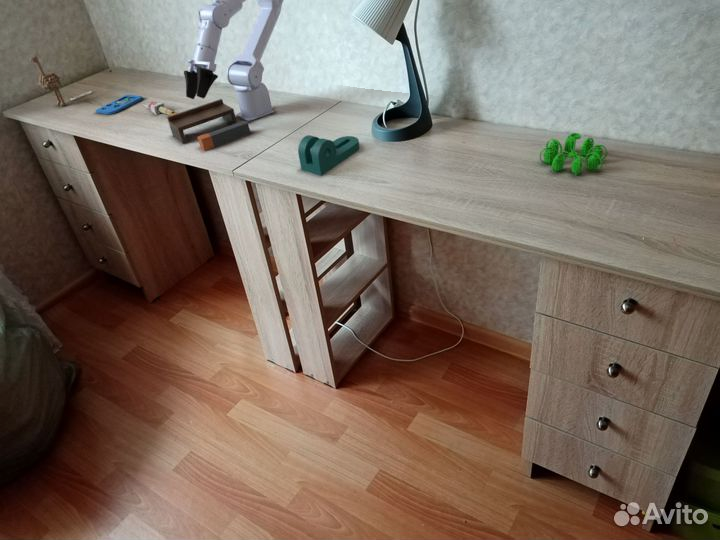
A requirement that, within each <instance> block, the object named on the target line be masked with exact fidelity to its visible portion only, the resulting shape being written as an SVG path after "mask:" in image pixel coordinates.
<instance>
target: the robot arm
mask: <svg viewBox="0 0 720 540" xmlns="http://www.w3.org/2000/svg"><path fill="white" fill-rule="evenodd" d="M256 1H257V5H259V7H261V10H260V12H259V13H258V14H259V15H258V17H257V18H256V22H255V24H254V26H253V28H252V31H251V33H250V35H249V37H248V39H247V42H246V45H245V47H244V49H243V52H242V53H241V54H239V55H238V56H236V57H235V58H234V59H233V61H232V63H231V64H229V65H228V67H227V68H226V74H225V75H226V80H227V82H228V83H229V85H231V86H232V88H233V89H234V90H235V94H236V98H237V102H238V106H239V110H240V112H238V113H236V116H237V117H239V118H240V119H242V120H243V121H246V122H251V121H254V120H257V119H259V118H262V117H265V116H267V115H271V114H273V113H275V111H274V110H273V107H272V106H273V105H272V102H271V97H270V92H269V90H268V87H267V86H266V84H265V83H263V82H262V80H263V73H264V70H265V67H264V65H263V64H262V62H261V60H262V58H263V55H264V52H265V50H266V48H267V45H268V43H269V41H270V39H271V36H272V34H273V32H274V29H275V26H276V25H277V22H278V19H279V17H280V15H281V11H282V6H283V2H284V0H256ZM245 2H247V0H212V2H211V4H204V5H203V6H202V8H200V10H198V12H197V13H198V14H197V15H198V16H197V18H198V21H199V24H198V35H197V39H196V44H195V48H194V52H193V57H192V59H191V58H190V59H187V63H189V66H188V70H183V76H184V80H185V97H186V98H189V99H191V100H195V98H196V97H198V98H201V99H203V100H204V99H205V98H206V96H207V95H208V92H209V91H210V89H211V87H212V85H213V84H214V82H215V81H216V80H217V79H218V77H219V75H218V74H216V73H215V72H216V70H217V67H218V65H217V63H215V62H216V57H217V54H218V48H219V45H220V41H221V36H222V32H223V29H225V28H227V27H228V26H229V25H230V20H231V19H232V18H233V17H234V16H235V15H236V14H238V13H239V12H240V11H241V10H242V9H243V3H245Z"/></svg>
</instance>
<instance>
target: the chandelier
mask: <svg viewBox="0 0 720 540" xmlns="http://www.w3.org/2000/svg"><path fill="white" fill-rule="evenodd" d="M581 138H582V134H580V133H577V132H575V133H574V132H573V133H570V134H569V135H568V136H567V138H566V139H565V142H564V147H563V146H562V144H561V142H560V141H559V140H558V139H555V138H551V139H549V140H547V142H546V144H545V147H544V148H542V150H541V151H540V152H539V160H540V161H541V162H542V163H543V164H545V165H551V170H552V172H554V173H558V172H559V171H561V170H563V169H564V165H565V162H566V160H568V159H569V158H571V159H573V161H572V162H571V170H570V171H571V172H572V173H574V175H575V176H578V175H579V174H580V173H581V172H582V169H583V160H584V164H585V166H586V168H587V169H588V170H589V171H593V172H595V171H599V170H600V169H601V168H602V167H603V161H604V160H605V159H606V158H607V156H608V152H609V151H608V149H607V148H606V146H605V145H602V144H596V145H595V144H594V143H595V141H594V139H593V137H587V138H586V139H584V141H583V143H582V145H581V146H580V149H579V150H578V151H576V143H577V140H580V139H581ZM603 148H604V149H605V155H604V157H603V153H604V152H603V150H604V149H603ZM563 149H564V150H563ZM543 152H544V154H543V159H542V157H541V156H542V153H543ZM562 152H563V153H562ZM564 153H565V154H564ZM566 156H567V157H566ZM583 156H585V157H583ZM587 158H588V159H587ZM599 163H600V165H599Z"/></svg>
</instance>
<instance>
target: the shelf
mask: <svg viewBox="0 0 720 540" xmlns="http://www.w3.org/2000/svg"><path fill="white" fill-rule="evenodd" d="M220 118H222V120H224V121H225V122H227V123H228V124H231V125H233V124H236V123H238V121H237V118H236V113H235V109H234V108H233V107H232V106H229V105H227V104H226V103H224V101H223V99H222V98H220V99H219V98H218V99H216V100H214V101H210V102H207V103H205V104H201V105H199V106H196V107H193V108H189V109H186V110H184V111H181V112H177V114H174V115H172V116H170V115H168V116H166V119H167V122H168V125H169V128H170V131H171V134H172V137H173V138H175V139H176V140H177V141H178V142H180V143H181V144H187V143H188V142H187V141H188V140H187V138H186V135H185V130H188V129H192V128H194V127H197V126H200V125H203V124H206V123H209V122H211V121H214V120H217V119H220Z"/></svg>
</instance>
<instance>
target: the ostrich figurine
mask: <svg viewBox="0 0 720 540" xmlns="http://www.w3.org/2000/svg"><path fill="white" fill-rule="evenodd" d="M29 62H33V63H35V64H36V66H37V68H38V71H39V73H40V75H39V76H38V77H39V79H38V80H39V82H37V83H36V84H37V86H40V87H41V89H43V90H45V91H47V90H48V92H51V91H52V92H53V94H54V96H55V98H56V101H57V102H56V106H57V107H61V108H63V107H66V106H67V104H66V102H65V100H64V98H63V97H64V96H63V95H62V93H61V91H60V88H61V87H63V85H62V82H61V77H60V76H58V75H57V74H56V73H55V72H50V71H49V72H46V73H45V72H44V70H43V67H42V65H41V62H40V60H39V58H38V56H35V55H34V56H32V57H30V59H29ZM91 93H93V90H89V91H86V92H83V94H79V95H78V96H73V97H70V101H73V100H76V99H79V98H81V97H83V96H85V95H86V94H91Z"/></svg>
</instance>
